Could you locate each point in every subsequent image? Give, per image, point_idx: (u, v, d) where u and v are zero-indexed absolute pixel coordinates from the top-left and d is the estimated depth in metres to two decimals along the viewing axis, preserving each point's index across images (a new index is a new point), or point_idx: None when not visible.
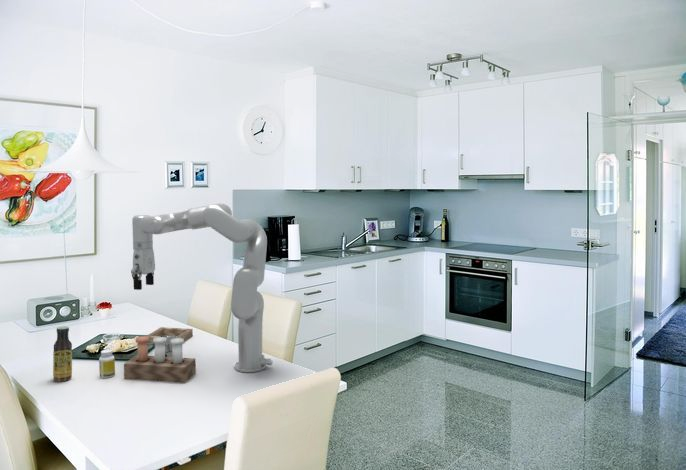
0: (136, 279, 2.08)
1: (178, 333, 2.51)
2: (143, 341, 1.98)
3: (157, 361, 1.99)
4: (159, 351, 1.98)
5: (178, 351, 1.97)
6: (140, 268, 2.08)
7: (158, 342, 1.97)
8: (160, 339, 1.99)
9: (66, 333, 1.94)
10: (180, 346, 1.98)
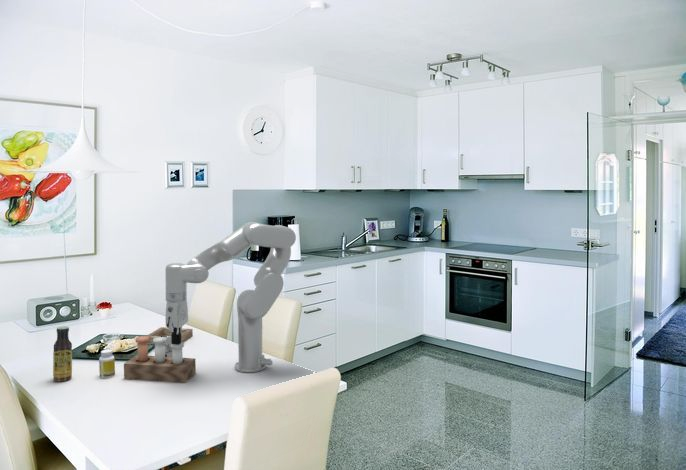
0: None
1: None
2: (143, 341, 1.98)
3: (157, 361, 1.99)
4: (159, 351, 1.98)
5: (178, 355, 1.98)
6: (175, 327, 1.94)
7: (158, 342, 1.97)
8: (160, 339, 1.99)
9: (66, 333, 1.94)
10: (180, 350, 1.98)
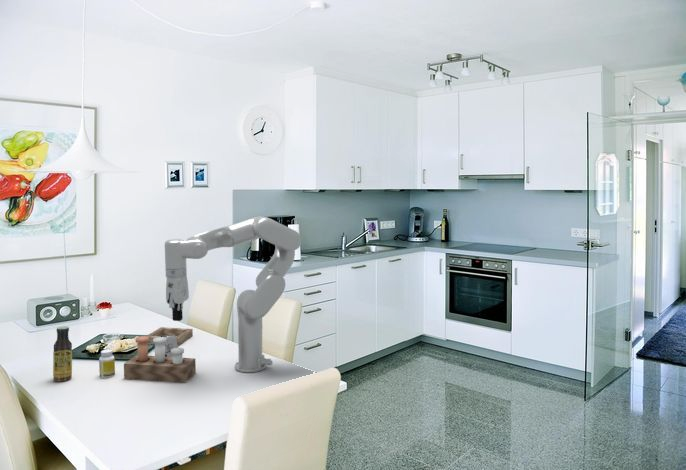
0: (176, 310, 1.96)
1: (178, 333, 2.51)
2: (143, 341, 1.98)
3: (157, 361, 1.99)
4: (159, 351, 1.98)
5: (178, 361, 1.98)
6: (176, 303, 1.93)
7: (158, 342, 1.97)
8: (160, 339, 1.99)
9: (66, 333, 1.94)
10: (180, 356, 1.98)
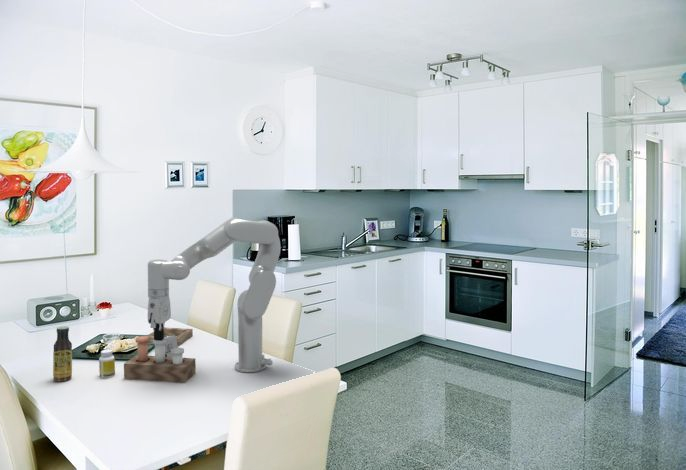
0: None
1: (178, 333, 2.51)
2: (143, 341, 1.98)
3: (157, 362, 1.99)
4: (159, 351, 1.98)
5: (178, 361, 1.98)
6: (157, 323, 1.95)
7: (158, 343, 1.97)
8: None
9: (66, 333, 1.94)
10: (180, 356, 1.98)
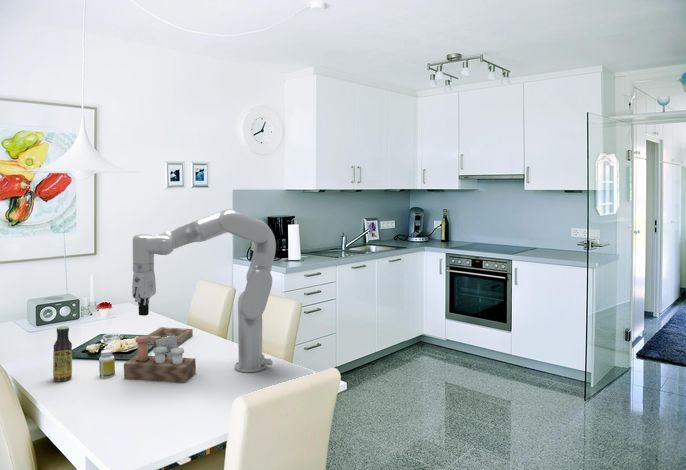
0: (142, 305, 1.97)
1: (178, 333, 2.51)
2: (143, 341, 1.98)
3: None
4: (159, 360, 1.99)
5: (178, 361, 1.98)
6: (142, 297, 1.94)
7: (158, 352, 1.98)
8: (160, 349, 1.99)
9: (66, 333, 1.94)
10: (180, 356, 1.98)
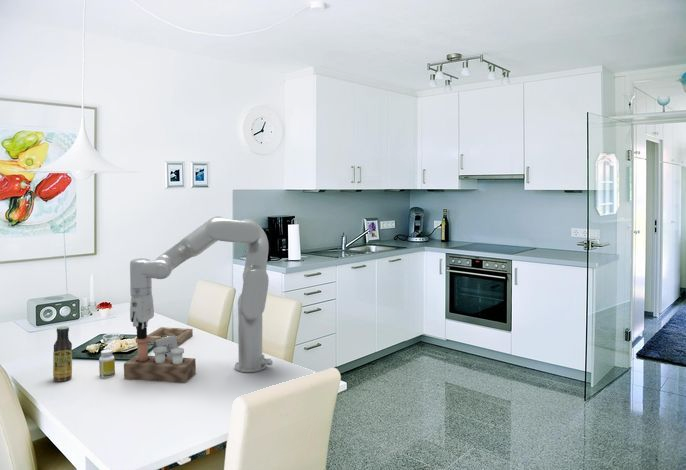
0: None
1: (178, 333, 2.51)
2: (143, 341, 1.98)
3: None
4: (159, 360, 1.99)
5: (178, 361, 1.98)
6: (140, 321, 1.96)
7: (158, 352, 1.98)
8: (160, 349, 1.99)
9: (66, 333, 1.94)
10: (180, 356, 1.98)
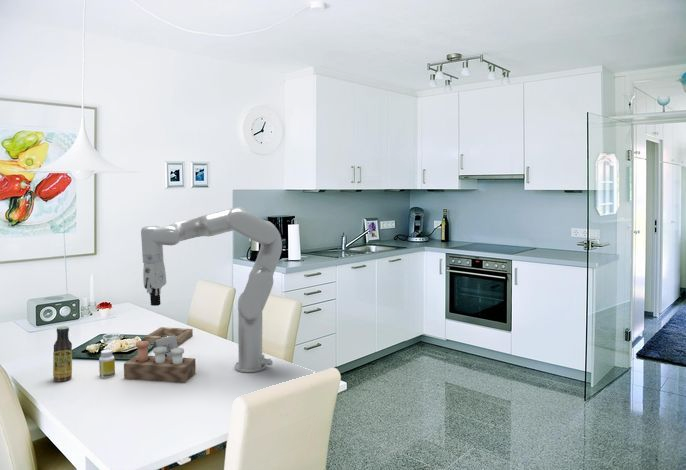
0: (154, 295, 2.01)
1: (178, 333, 2.51)
2: (143, 346, 1.99)
3: None
4: (159, 360, 1.99)
5: (178, 361, 1.98)
6: (153, 288, 1.98)
7: (158, 352, 1.98)
8: (160, 349, 1.99)
9: (66, 333, 1.94)
10: (180, 356, 1.98)
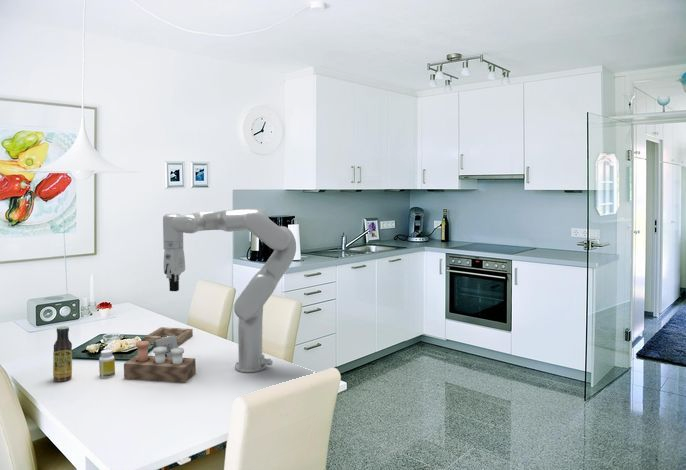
0: (173, 281, 2.07)
1: (178, 333, 2.51)
2: (143, 346, 1.99)
3: None
4: (159, 360, 1.99)
5: (178, 361, 1.98)
6: (173, 273, 2.04)
7: (158, 352, 1.98)
8: (160, 349, 1.99)
9: (66, 333, 1.94)
10: (180, 356, 1.98)
